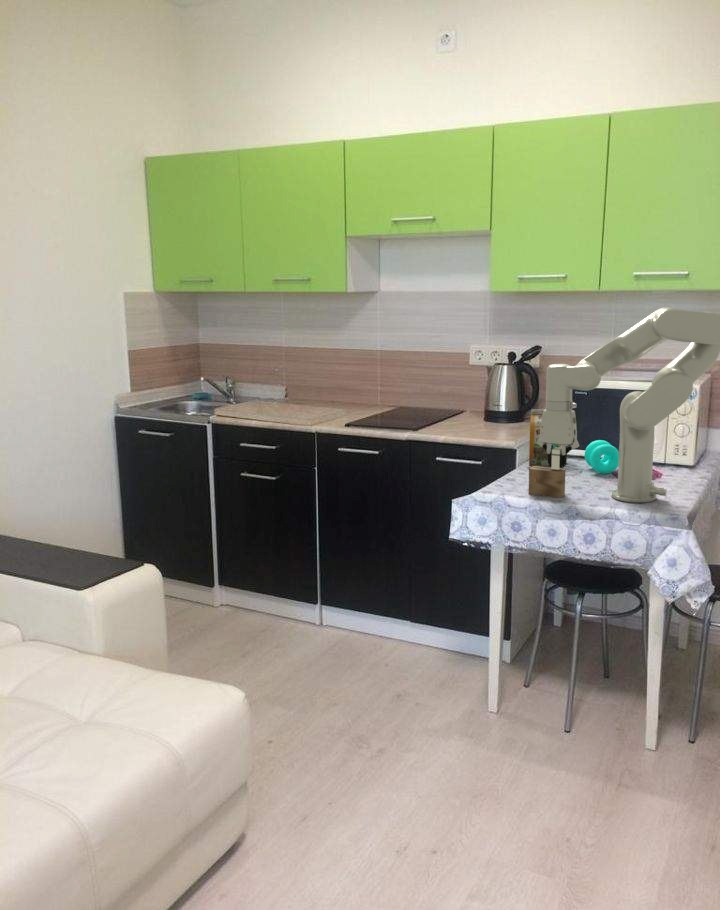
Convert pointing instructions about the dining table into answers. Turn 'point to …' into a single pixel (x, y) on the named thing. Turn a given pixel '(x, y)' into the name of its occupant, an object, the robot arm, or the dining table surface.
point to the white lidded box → (556, 458)
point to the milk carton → (536, 452)
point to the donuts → (609, 459)
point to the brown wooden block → (547, 481)
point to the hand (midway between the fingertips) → (557, 466)
